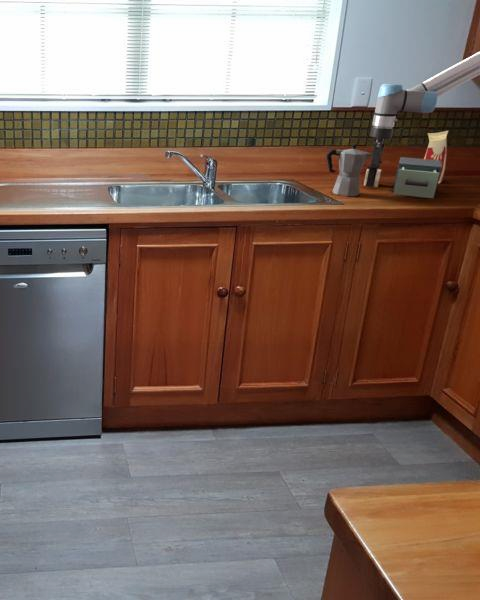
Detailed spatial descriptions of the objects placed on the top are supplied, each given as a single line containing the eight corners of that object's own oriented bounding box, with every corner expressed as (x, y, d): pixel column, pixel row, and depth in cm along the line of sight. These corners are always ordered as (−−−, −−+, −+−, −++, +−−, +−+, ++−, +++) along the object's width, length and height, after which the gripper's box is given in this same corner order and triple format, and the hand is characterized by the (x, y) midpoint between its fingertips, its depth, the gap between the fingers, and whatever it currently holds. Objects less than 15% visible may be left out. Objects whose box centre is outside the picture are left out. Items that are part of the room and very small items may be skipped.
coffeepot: (362, 192, 225) (372, 142, 218) (367, 197, 217) (377, 146, 210) (318, 189, 229) (327, 140, 222) (321, 194, 220) (330, 144, 213)
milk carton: (442, 180, 249) (454, 129, 241) (440, 183, 241) (453, 132, 234) (417, 177, 253) (429, 127, 245) (415, 181, 246) (426, 130, 238)
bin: (433, 202, 208) (439, 176, 205) (392, 197, 214) (398, 172, 210) (433, 190, 225) (439, 166, 222) (395, 186, 231) (400, 163, 227)
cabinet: (434, 197, 220) (441, 167, 215) (392, 192, 226) (398, 163, 221) (434, 188, 233) (441, 160, 228) (394, 184, 238) (400, 157, 234)
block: (378, 184, 238) (381, 169, 236) (377, 187, 234) (380, 171, 232) (364, 183, 240) (367, 168, 238) (363, 185, 236) (366, 170, 234)
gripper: (391, 131, 217) (379, 190, 225) (395, 124, 237) (383, 178, 245) (369, 130, 220) (357, 188, 228) (374, 123, 240) (363, 176, 249)
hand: (371, 183), depth 237 cm, fingers open, 13 cm apart
